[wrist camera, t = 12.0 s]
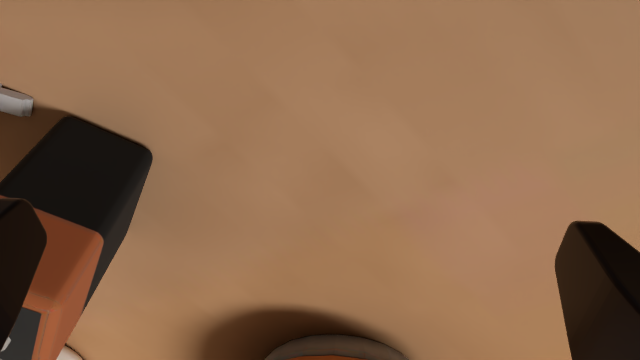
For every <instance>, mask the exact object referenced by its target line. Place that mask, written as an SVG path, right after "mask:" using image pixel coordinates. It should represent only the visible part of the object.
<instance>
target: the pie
mask: <svg viewBox="0 0 640 360" xmlns="http://www.w3.org/2000/svg"><path fill="white" fill-rule="evenodd" d="M264 360H408V359H407V358H406V357H405V356H404V355H403V354H402V353H400V352H398V351H396V350H394V349H392V348H390V347H389V346H387V345H385V344H382V343H379V342H375V341H372V340H369V339H365V338H362V337H355V336H346V335H338V334H333V335H312V336H308V337H304V338H299V339H295V340H291V341H289V342H287V343H285V344H283V345H281V346H279V347H277V348H276V349H274V350H273V351H272V352H271V353H270V354H269V355H268V356H267V357H266V358H265V359H264Z"/></svg>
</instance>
